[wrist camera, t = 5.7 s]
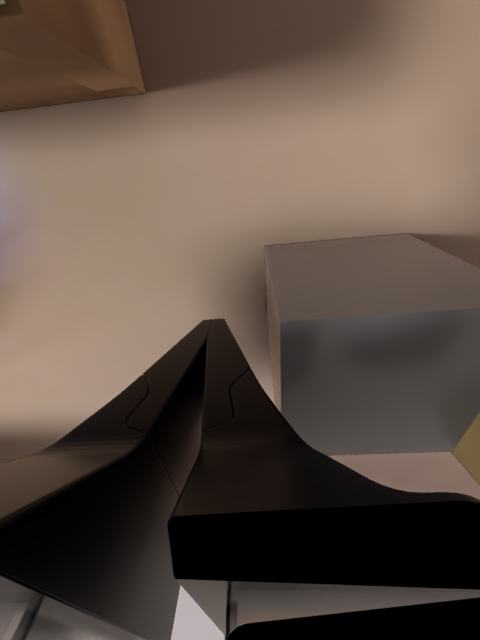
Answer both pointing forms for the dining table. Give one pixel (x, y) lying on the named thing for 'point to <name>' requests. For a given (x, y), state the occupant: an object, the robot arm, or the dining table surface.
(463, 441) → the pepper shaker
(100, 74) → the box
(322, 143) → the dining table surface
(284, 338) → the cube
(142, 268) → the dining table surface
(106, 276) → the dining table surface
